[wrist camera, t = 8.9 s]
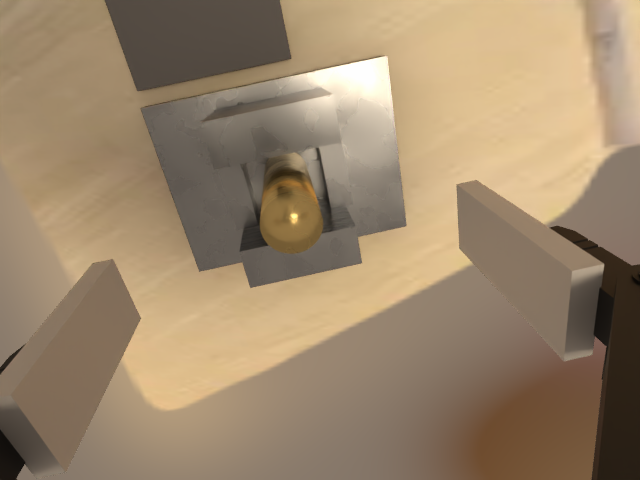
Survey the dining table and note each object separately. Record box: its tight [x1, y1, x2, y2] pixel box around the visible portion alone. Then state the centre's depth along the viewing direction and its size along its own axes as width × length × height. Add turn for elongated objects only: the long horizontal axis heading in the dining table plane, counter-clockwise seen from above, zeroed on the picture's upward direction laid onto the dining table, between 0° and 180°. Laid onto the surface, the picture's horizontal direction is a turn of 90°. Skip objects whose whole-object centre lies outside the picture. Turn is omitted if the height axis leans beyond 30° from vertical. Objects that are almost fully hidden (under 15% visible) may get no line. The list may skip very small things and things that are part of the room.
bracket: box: [141, 56, 406, 288], centre depth 26 cm, size 12×16×7 cm
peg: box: [260, 153, 323, 254], centre depth 24 cm, size 3×3×10 cm
